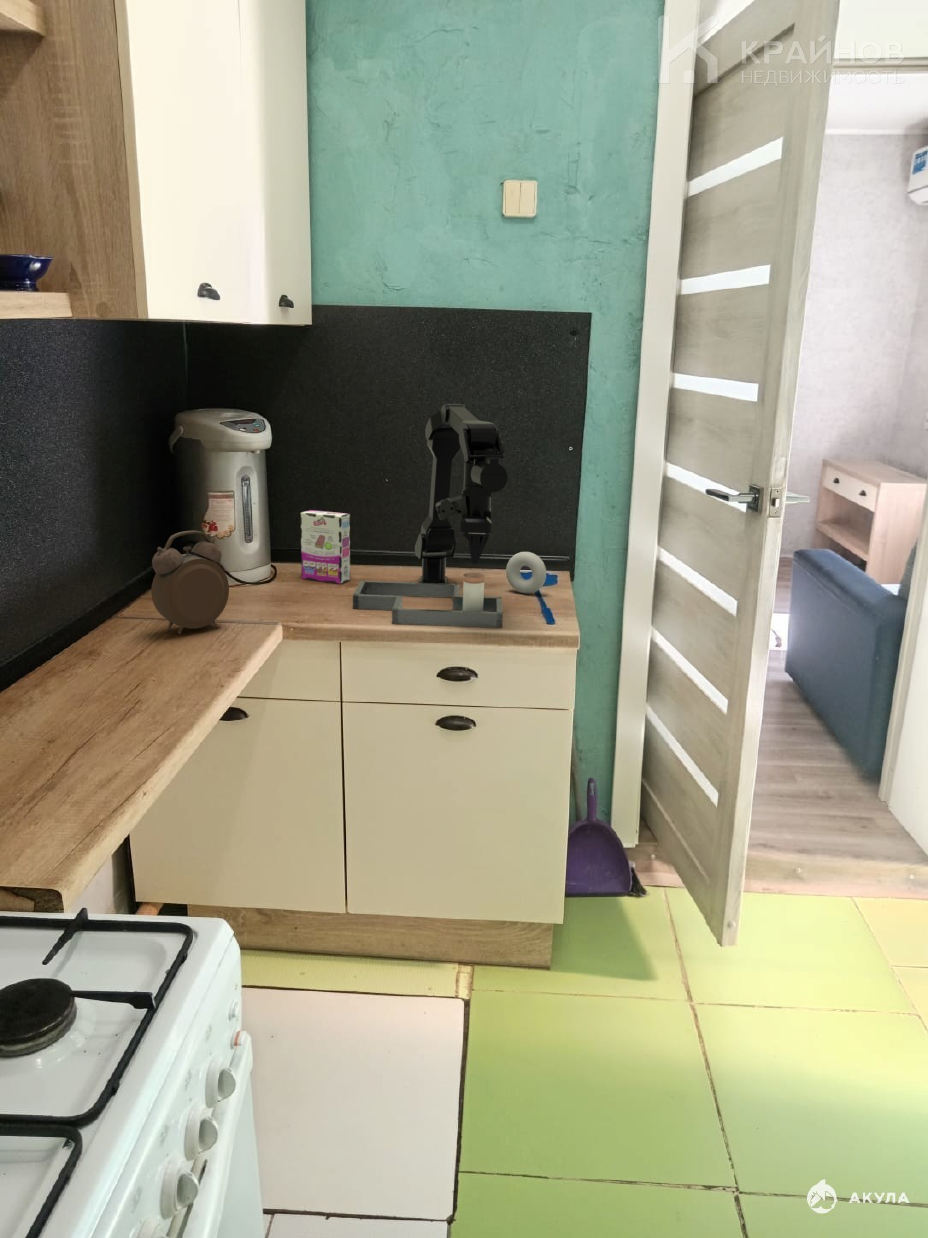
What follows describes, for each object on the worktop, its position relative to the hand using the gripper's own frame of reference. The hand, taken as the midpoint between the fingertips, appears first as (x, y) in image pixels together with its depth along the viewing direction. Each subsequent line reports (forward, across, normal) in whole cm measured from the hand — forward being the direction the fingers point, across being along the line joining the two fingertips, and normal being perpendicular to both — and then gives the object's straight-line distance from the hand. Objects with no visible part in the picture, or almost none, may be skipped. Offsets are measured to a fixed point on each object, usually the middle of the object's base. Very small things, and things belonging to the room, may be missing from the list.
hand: (474, 558), depth 207 cm
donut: (+13, -22, +12) cm, 28 cm away
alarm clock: (+13, +16, -56) cm, 60 cm away
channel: (+13, -5, -10) cm, 17 cm away
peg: (+13, 0, 0) cm, 13 cm away
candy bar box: (+13, -28, -36) cm, 48 cm away
